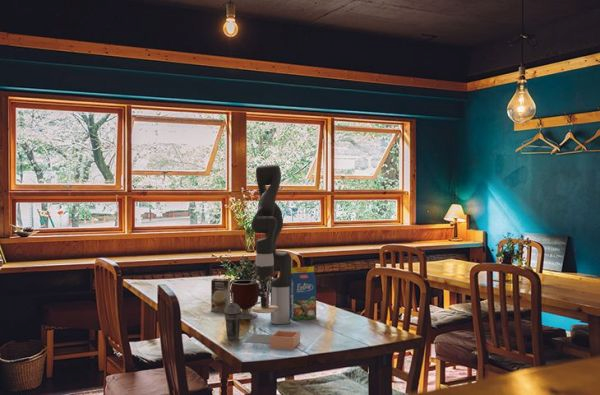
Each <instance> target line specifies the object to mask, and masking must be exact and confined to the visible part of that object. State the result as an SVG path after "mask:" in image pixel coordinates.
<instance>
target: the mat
mask: <svg viewBox="0 0 600 395" xmlns="http://www.w3.org/2000/svg"><path fill="white" fill-rule="evenodd" d="M271 335H272V334H262V333H260V334H259V333H254V334H252V335H251V336H249V338H248V337H247V339H245V340H244V341H243V343H245V344H247V343H248V344H259V345H261V344H263V345H265V344H266V345H270V336H271Z"/></svg>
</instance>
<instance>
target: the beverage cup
mask: <svg viewBox="0 0 600 395" xmlns="http://www.w3.org/2000/svg"><path fill="white" fill-rule="evenodd" d="M241 313H242V309H241V308H240V306H239V305H238V304H236V303H233V293H232V300H231V302H230V304H228V305H227V306H226V308H225V311H223V314H224V318H225V328H226V338H227V340H228V341H237V340H239V336H240V328H241V327H240V326H241V319H240V318H241Z"/></svg>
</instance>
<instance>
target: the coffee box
mask: <svg viewBox="0 0 600 395" xmlns="http://www.w3.org/2000/svg"><path fill="white" fill-rule="evenodd" d="M210 283H211V287H210V289H211V291H210V292H211V295H210V296H211V298H210V300H211V301H210V305H211V306H210V307H211V308H210V311H211V312H225V308H226V306H227V305H228V304H230V303H231V279H230V278H212V279H211V282H210Z"/></svg>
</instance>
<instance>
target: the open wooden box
mask: <svg viewBox="0 0 600 395" xmlns="http://www.w3.org/2000/svg"><path fill="white" fill-rule="evenodd" d="M270 335H271V336H270V344H269V345H270V346H269V347H270V349H271V348H272V349H273V348H274V349H285V350H286V349H288V350H295V349H296V348H297V347H298V346H299V344H301V331H291V330H289V331H288V330H276V331H275V332H273V334H270Z"/></svg>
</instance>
